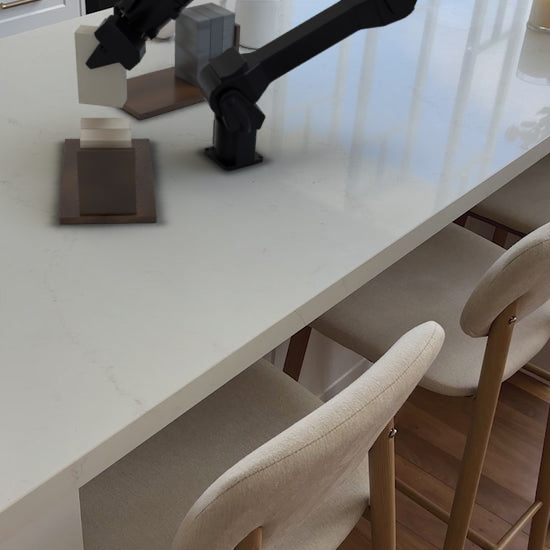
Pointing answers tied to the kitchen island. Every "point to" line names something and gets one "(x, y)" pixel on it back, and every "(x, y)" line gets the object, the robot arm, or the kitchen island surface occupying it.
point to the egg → (167, 30)
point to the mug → (256, 21)
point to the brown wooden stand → (107, 175)
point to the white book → (97, 74)
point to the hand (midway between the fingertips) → (91, 61)
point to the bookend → (184, 62)
